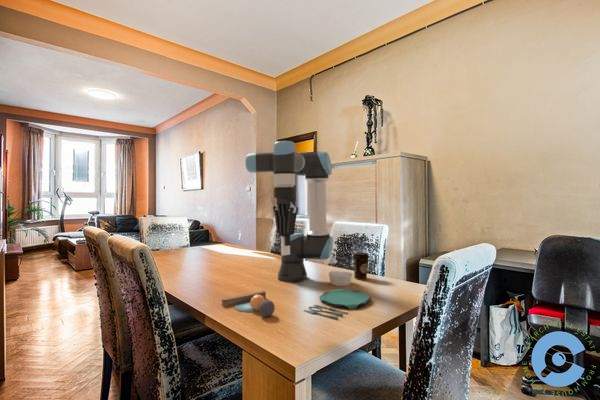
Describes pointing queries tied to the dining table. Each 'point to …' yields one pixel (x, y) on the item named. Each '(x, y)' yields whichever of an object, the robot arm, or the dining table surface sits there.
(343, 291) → the cutlery set
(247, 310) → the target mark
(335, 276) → the ramekin
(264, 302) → the gray ball
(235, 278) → the dining table surface
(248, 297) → the stopper strip
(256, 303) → the orange ball
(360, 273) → the coffee cup
